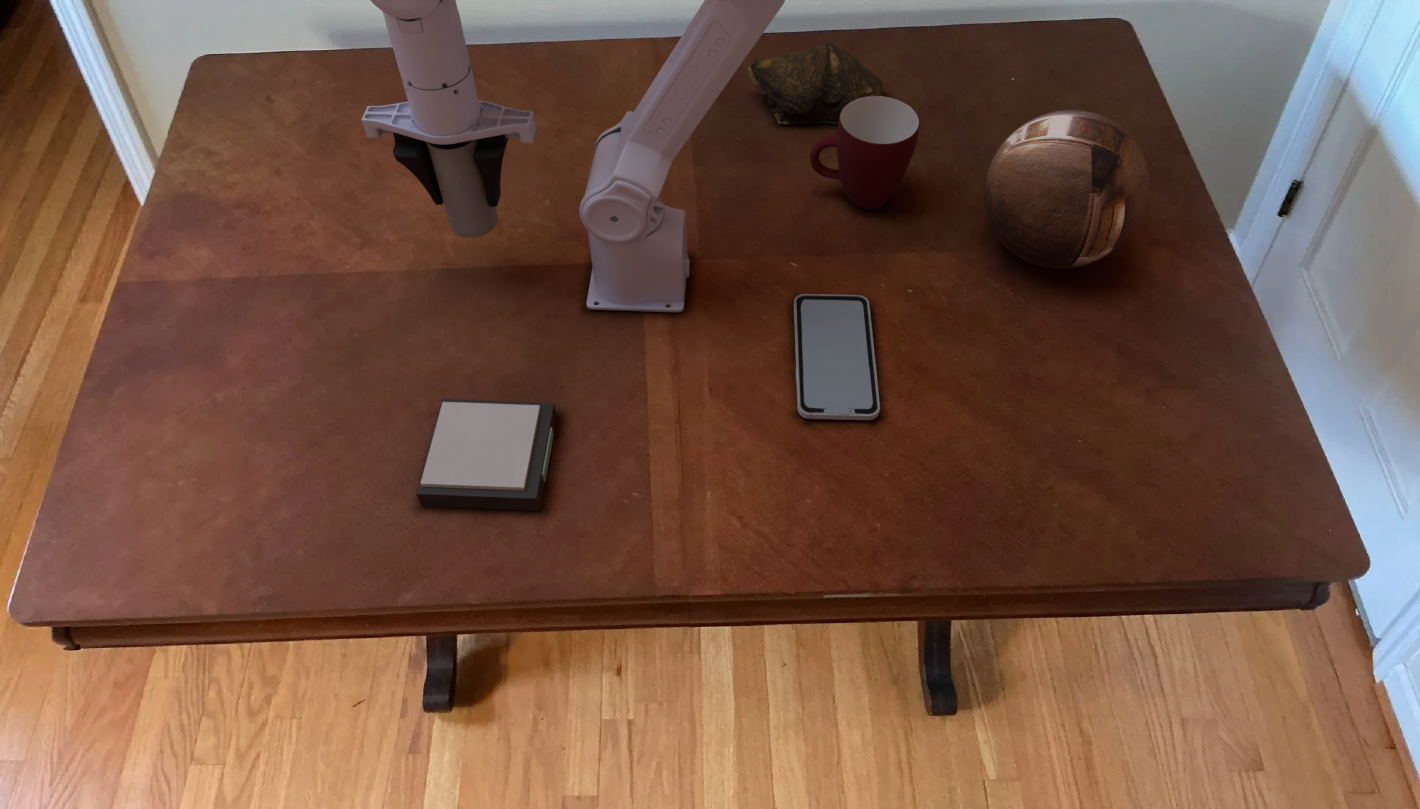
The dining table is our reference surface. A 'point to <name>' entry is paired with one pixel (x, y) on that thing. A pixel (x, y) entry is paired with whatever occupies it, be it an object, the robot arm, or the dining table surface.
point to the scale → (488, 455)
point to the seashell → (812, 84)
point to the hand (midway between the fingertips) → (468, 198)
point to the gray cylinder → (462, 189)
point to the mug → (870, 148)
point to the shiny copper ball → (1066, 189)
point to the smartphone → (835, 358)
